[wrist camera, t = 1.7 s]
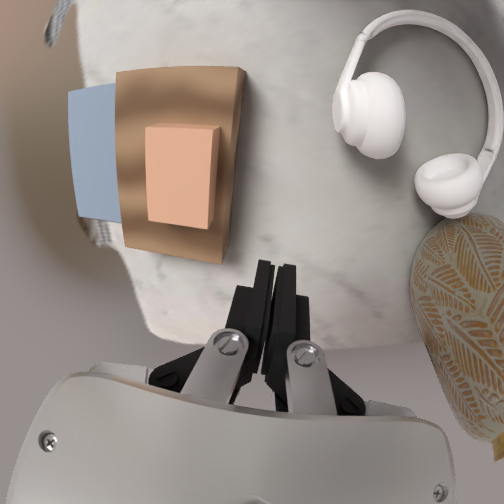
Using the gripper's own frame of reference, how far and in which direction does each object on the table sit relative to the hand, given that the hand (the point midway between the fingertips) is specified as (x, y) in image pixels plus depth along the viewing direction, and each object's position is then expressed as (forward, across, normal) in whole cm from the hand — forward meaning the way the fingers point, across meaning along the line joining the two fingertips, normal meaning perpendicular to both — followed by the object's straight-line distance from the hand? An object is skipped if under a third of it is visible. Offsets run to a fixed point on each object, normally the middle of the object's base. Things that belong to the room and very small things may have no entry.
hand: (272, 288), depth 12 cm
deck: (+18, +11, 0) cm, 21 cm away
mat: (+18, +23, 0) cm, 29 cm away
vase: (+18, -25, +6) cm, 31 cm away
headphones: (+18, -14, -12) cm, 26 cm away
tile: (+13, +9, 0) cm, 16 cm away
